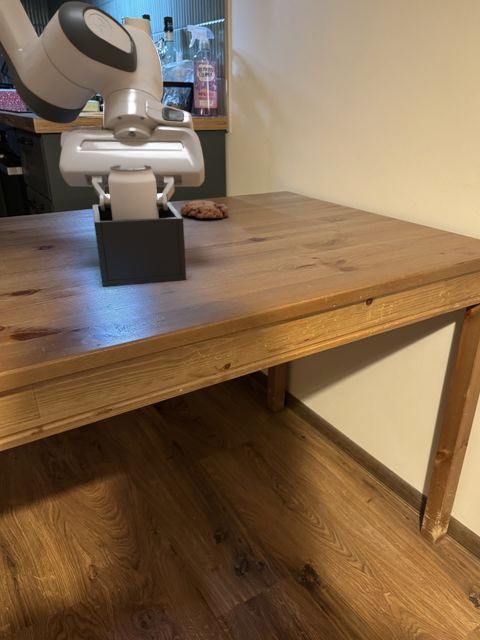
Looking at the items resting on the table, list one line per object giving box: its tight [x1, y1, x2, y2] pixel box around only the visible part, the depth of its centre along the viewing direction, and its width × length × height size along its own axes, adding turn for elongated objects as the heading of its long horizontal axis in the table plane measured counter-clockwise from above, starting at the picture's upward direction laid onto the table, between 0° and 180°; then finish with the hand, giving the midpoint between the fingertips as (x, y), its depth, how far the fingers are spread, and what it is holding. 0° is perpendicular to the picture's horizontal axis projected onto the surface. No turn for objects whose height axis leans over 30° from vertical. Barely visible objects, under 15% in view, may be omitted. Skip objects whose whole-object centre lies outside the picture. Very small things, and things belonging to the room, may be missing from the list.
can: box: [108, 165, 159, 220], centre depth 71 cm, size 6×6×12 cm
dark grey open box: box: [91, 201, 187, 287], centre depth 73 cm, size 12×12×9 cm
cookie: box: [179, 199, 229, 219], centre depth 108 cm, size 10×11×3 cm
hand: (134, 208), depth 70 cm, fingers closed on can, 6 cm apart
